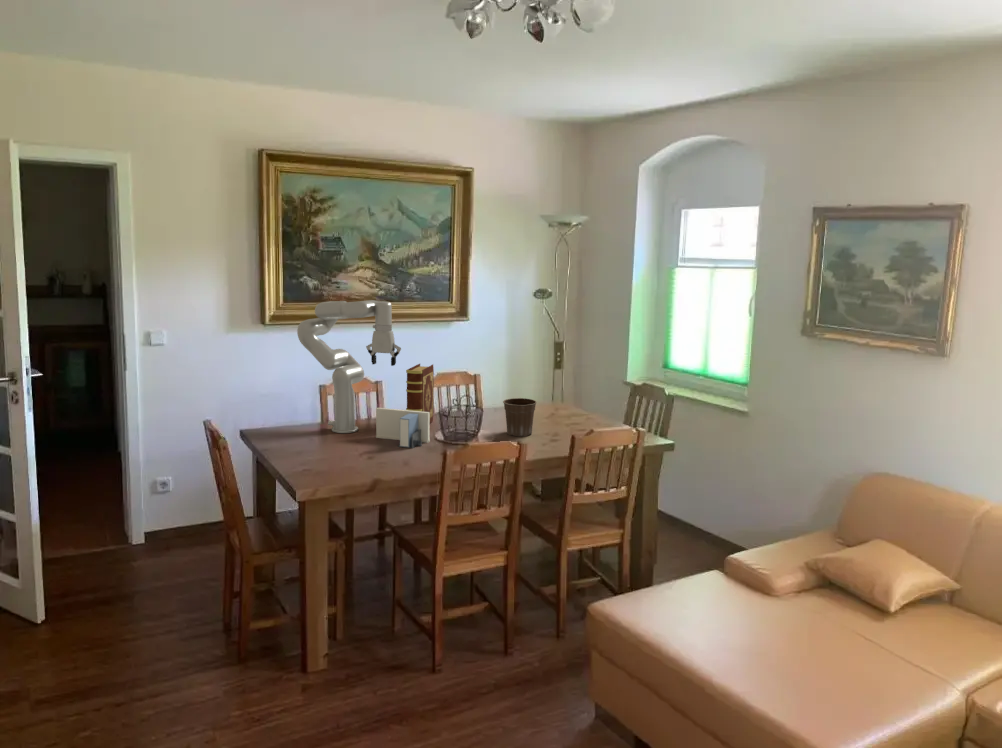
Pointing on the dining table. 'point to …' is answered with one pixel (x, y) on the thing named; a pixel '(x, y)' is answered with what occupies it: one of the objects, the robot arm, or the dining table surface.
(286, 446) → the dining table surface
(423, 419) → the shelf wall
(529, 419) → the plant pot
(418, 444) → the bookend
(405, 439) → the boxed book
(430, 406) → the decorative book
